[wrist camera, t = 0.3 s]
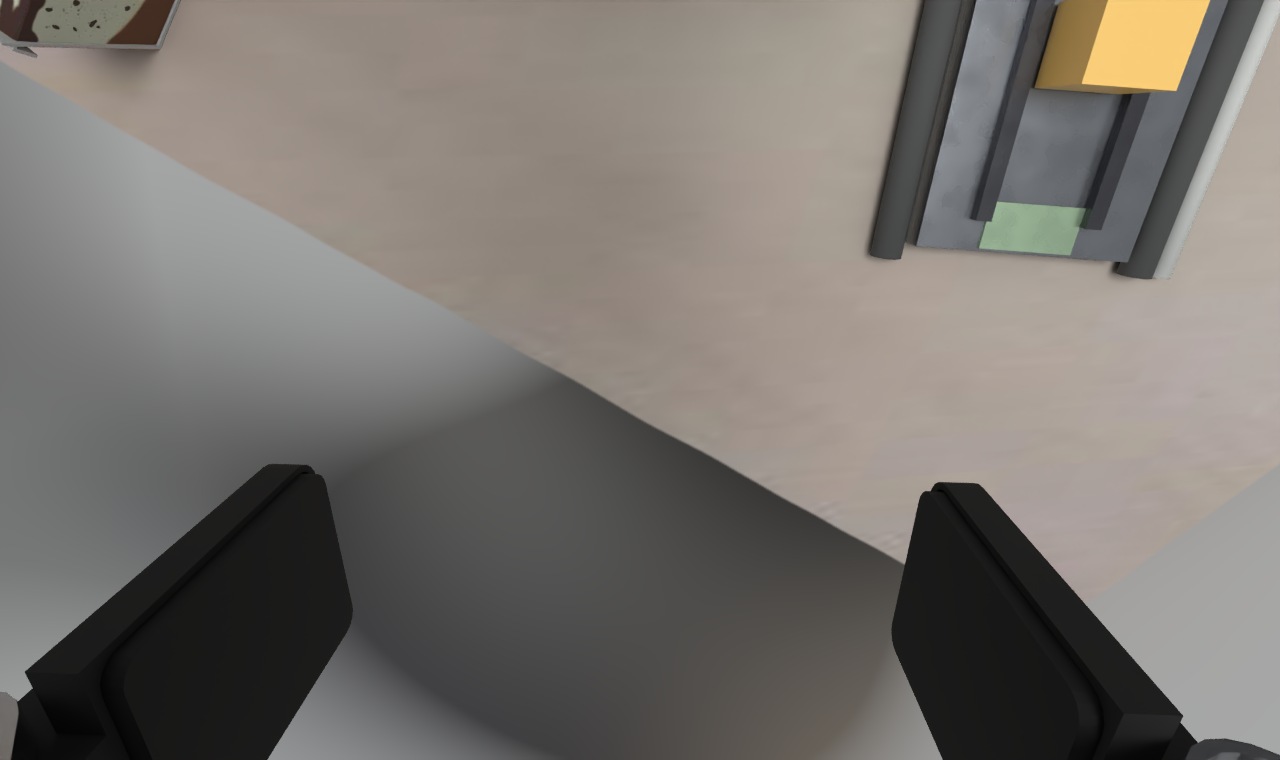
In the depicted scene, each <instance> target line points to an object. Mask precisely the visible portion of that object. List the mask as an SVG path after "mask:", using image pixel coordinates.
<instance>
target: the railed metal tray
mask: <svg viewBox="0 0 1280 760" xmlns="http://www.w3.org/2000/svg"><path fill="white" fill-rule="evenodd" d="M1062 1H1066V0H963V1H962V5H961V9H960V13H959V18H958V22H957V26H956V30H955V34H954V39H953V43H952V47H951V51H950V55H949V60H948V64H947V68H946V72H945V76H944V81H943V85H942V89H941V93H940V98H939V102H938V106H937V110H936V114H935V119H934V123H933V127H932V131H931V135H930V140H929V144H928V148H927V152H926V156H925V161H924V165H923V169H922V173H921V177H920V182H919V186H918V190H917V194H916V199H915V203H914V207H913V211H912V215H911V220H910V224H909V228H908V232H907V236H906V241H907V242H909V243H911V244H913V245H915V246H921V247H934V248H947V249H960V250H973V251H986V252H999V253H1012V254H1025V255H1038V256H1051V257H1064V258H1077V259H1090V260H1103V261H1115V262H1128V260H1129V258H1130V255H1131V253H1132V250H1133V247H1134V245H1135V242H1136V239H1137V237H1138V234H1139V232H1140V229H1141V226H1142V224H1143V221H1144V219H1145V216H1146V213H1147V211H1148V208H1149V206H1150V203H1151V200H1152V198H1153V195H1154V193H1155V190H1156V187H1157V185H1158V182H1159V180H1160V177H1161V174H1162V172H1163V169H1164V167H1165V164H1166V161H1167V159H1168V156H1169V153H1170V151H1171V148H1172V146H1173V143H1174V140H1175V138H1176V135H1177V133H1178V130H1179V127H1180V125H1181V122H1182V120H1183V117H1184V114H1185V112H1186V109H1187V107H1188V104H1189V101H1190V99H1191V96H1192V94H1193V91H1194V88H1195V86H1196V83H1197V81H1198V78H1199V75H1200V73H1201V70H1202V67H1203V65H1204V62H1205V60H1206V57H1207V54H1208V52H1209V49H1210V47H1211V44H1212V41H1213V39H1214V36H1215V34H1216V31H1217V28H1218V26H1219V23H1220V21H1221V18H1222V15H1223V13H1224V10H1225V8H1226V5H1227V2H1228V0H1210V2H1209V5H1208V8H1207V10H1206V13H1205V16H1204V18H1203V21H1202V24H1201V26H1200V29H1199V32H1198V34H1197V37H1196V40H1195V42H1194V45H1193V48H1192V50H1191V53H1190V56H1189V58H1188V61H1187V64H1186V66H1185V69H1184V72H1183V74H1182V77H1181V80H1180V82H1179V85H1178V88H1177V90H1176V91H1167V92H1150V93H1133V94H1107V93H1094V92H1080V91H1067V90H1054V89H1041V88H1034V87H1035V84H1036V80H1037V77H1038V73H1039V70H1040V66H1041V63H1042V60H1043V56H1044V53H1045V49H1046V46H1047V42H1048V39H1049V36H1050V32H1051V29H1052V25H1053V22H1054V18H1055V15H1056V11H1057V8H1058V5H1059V2H1062Z"/></svg>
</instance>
